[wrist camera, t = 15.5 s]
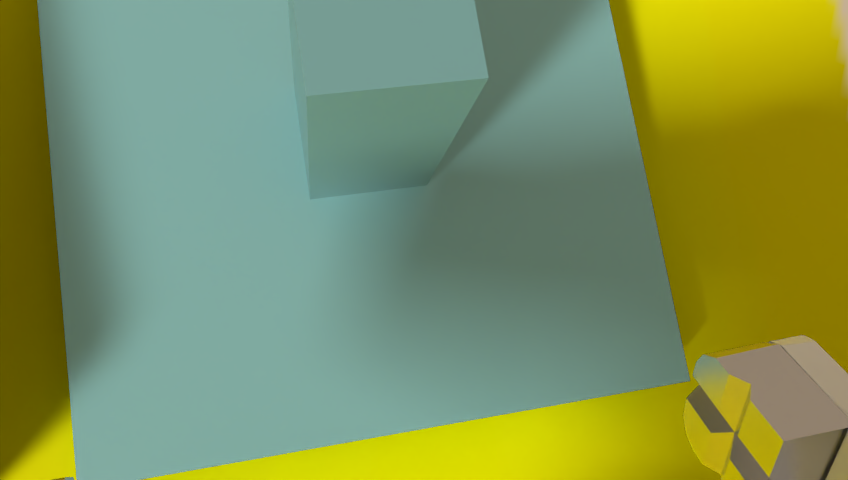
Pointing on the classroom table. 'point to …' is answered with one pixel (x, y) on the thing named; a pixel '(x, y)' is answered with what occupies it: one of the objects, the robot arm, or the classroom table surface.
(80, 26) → the lid
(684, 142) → the classroom table surface
